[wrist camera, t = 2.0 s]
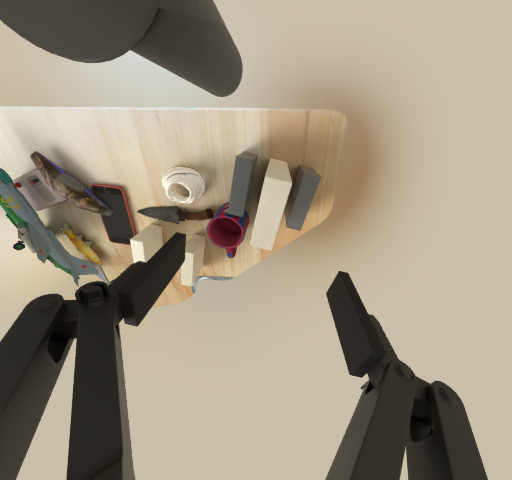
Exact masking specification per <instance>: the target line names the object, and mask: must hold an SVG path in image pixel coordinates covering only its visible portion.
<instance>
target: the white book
mask: <svg viewBox="0 0 512 480" xmlns="http://www.w3.org/2000/svg"><path fill="white" fill-rule="evenodd" d="M291 186H292V180H291V176H290V172H289V169H288V165H287V162H284V161H280V160H276V159H272V158H270V161H269V164H268V168H267V171H266V175H265V179H264V183H263V188H262V192H261V196H260V201H259V205H258V210H257V214H256V218H255V223H254V227H253V231H252V236H251V240H250V246H254V247H258V248H262V249H267V250H272V248H273V244H274V241H275V238H276V235H277V231H278V228H279V225H280V222H281V218H282V215H283V212H284V209H285V205H286V202H287V199H288V196H289V192H290V189H291Z"/></svg>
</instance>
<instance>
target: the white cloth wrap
mask: <svg viewBox="0 0 512 480" xmlns="http://www.w3.org/2000/svg"><path fill="white" fill-rule="evenodd" d="M174 173H178V174H174ZM171 174H173V175H171ZM170 175H171V176H170ZM161 180H162V185H163V187H164V188H165V190H166V194H167V197H168V198H169V199H170V200H172V201H174V202H178V203H187V204H189V203H192V202H193V200H195V199H198V198H199V197H200V196H202V194H203V193H204V191H205V182H204V180H203V178H202V177H201V175H200V174H199V173H198V172H196V171H195V170H193V169H191V168H186V167H174V168H170V169H168V170H166V171H165V172H164V174H163V175H162V179H161ZM173 183H179V184H181V185H183V186H184V187H186V188H187V189H188V190H189V192H190V196H188V197H185V196H182V195H180V194H179V193H177V192H175V191H174V190H173V189H172V187H171V185H172V184H173Z"/></svg>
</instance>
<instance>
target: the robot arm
mask: <svg viewBox="0 0 512 480" xmlns="http://www.w3.org/2000/svg"><path fill="white" fill-rule="evenodd" d="M185 247H186V234H182V233H178V232H176V233H175V234H174V235H173V236H172V237H171V238H170V239H169V240H168V241H167V242H166V243H165V244H164V245H163V246H162V247H161V248H160V249H159V250H158V251H157V252H156V253H155V254H154V255H153V256H152V257H151V258H150V259H149V260H148V261H147V262H142V261H138V262H136V263H134V264H132V265H130V266H129V267H128V268H127V269H126V270H125V271H124V272H123V273H122V274H121V275H119V276H118V277H117V278H116V279H115V280H114V281H113V282H112V283H111V284H110V285H108V284H107V283H105V282H101V281H96V282H90V283H87V284H85V285H83V286H81V287H80V288H79V289H78V290H77V291H76V293H75V297H76V299H77V300H64V299H63V297H62V296H61V295H59V294H48V295H43V296H40V297H38V298H36V299H34V300H32V301H31V302H30V303H29V304H28V305H27V306H26V307H25V308H24V310H23V311H22V312H21V314H20V315H19V316H18V318H17V319H16V321H15V322H14V323H13V325H12V326H11V328H10V329H9V330H8V332H7V333H6V335H5V336H4V337H3V339H2V340H1V342H0V480H16V478H17V475H18V473H19V470H20V468H21V466H22V463H23V461H24V458H25V456H26V453H27V451H28V449H29V446H30V444H31V441H32V439H33V437H34V434H35V432H36V429H37V427H38V425H39V422H40V420H41V417H42V415H43V413H44V410H45V407H46V405H47V403H48V400H49V398H50V396H51V393H52V391H53V388H54V386H55V384H56V381H57V379H58V376H59V374H60V371H61V369H62V367H63V364H64V362H65V359H66V357H67V355H68V352H69V350H70V347H71V345H72V342H73V340H74V338H77V343H76V357H75V371H74V384H73V385H74V386H73V399H72V412H71V426H70V439H69V453H68V467H67V480H135V475H134V470H133V460H132V450H131V440H130V430H129V420H128V410H127V400H126V390H125V380H124V369H123V359H122V349H121V339H120V328H119V323H120V321H121V320H122V319H123V318H124V322H125V324H129V325H133V326H138V325H139V324H140V322H141V321H142V320H143V318H144V317H145V316H146V314H147V313H148V311H149V310H150V309H151V307H152V306H153V304H154V303H155V302H156V300H157V299H158V298H159V296H160V295H161V293H162V292H163V291H164V289H165V288H166V286H167V285H168V284H169V282H170V281H171V279H172V278H173V277H174V275H175V274H176V272H177V271H178V270H179V268H180V267H181V266H182V264H183V263H184V261H185ZM326 295H327V298H328V302H329V305H330V309H331V312H332V315H333V319H334V322H335V326H336V329H337V333H338V336H339V340H340V343H341V346H342V350H343V353H344V356H345V360H346V364H347V367H348V371H349V374H350V375H352V376H357V377H361V378H362V377H363V376H364V375H365V374H366V373H367V374H368V377H369V379H370V380H368V381H367V382H366V383H365V384H364V385H363V386H362V387H361V389H364V390H363V392H362V395H361V397H360V399H359V402H358V404H357V407H356V409H355V412H354V414H353V416H352V418H351V421H350V423H349V425H348V428H347V430H346V433H345V435H344V437H343V440H342V442H341V444H340V446H339V449H338V451H337V454H336V456H335V458H334V461H333V463H332V465H331V468H330V470H329V472H328V475H327V477H326V479H325V480H399V479H400V474H401V468H402V463H403V458H404V452H405V447H406V454H407V468H408V478H409V479H408V480H488V479H487V475H486V472H485V469H484V466H483V463H482V460H481V457H480V454H479V451H478V448H477V444H476V441H475V438H474V435H473V432H472V429H471V426H470V423H469V420H468V417H467V414H466V411H465V407H464V405H463V403H462V401H461V399H460V397H459V396H458V395H457V394H456V392H454V391H453V390H452V389H451V388H450V387H449V386H447V385H446V384H445V383H443V382H441V381H434V382H433V383H431V384H430V383H428V382H426V381H424V380H422V379H420V378H418V377H416V376H415V374H414V373H413V371H412V370H411V369H410V368H409V367H408V366H407V365H406V364H405V363H403V362H402V361H400V360H399V359H398V358H397V355H396V354H395V352H394V350H393V348H392V346H391V345H390V342H389V340H388V339H387V337H386V335H385V333H384V331H383V329H382V327H381V325H380V323H379V322H378V320H377V319H376V318H375V317H374V316H373V315H370V314H368V313H367V311H366V309H365V307H364V305H363V303H362V301H361V299H360V297H359V295H358V292H357V290H356V288H355V286H354V284H353V282H352V280H351V278H350V276H349V274H348V273H346V272H342V271H339V272H338V274H337V276H336V277H335V279H334V281H333V283H332V284H331V286H330V288H329V289H328V291H327V293H326Z"/></svg>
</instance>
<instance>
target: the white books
mask: <svg viewBox="0 0 512 480" xmlns="http://www.w3.org/2000/svg"><path fill="white" fill-rule="evenodd" d="M130 242H131V248H132V254H133V260H134V263H136V262H138V261H142V262H147V261H148V260H149V259H150V258H151V257H152V256H153V255H154V254H155V253H156V252H157V251H158V250H159V249H160V248H161V247H162V246H163V237H162V226H158V225H154V224H150V225H149V226H147V227H146V228H145V229H143V230H142V231H141V232H139V233H138V234H137V235H135V236H134V237H133V238H131V239H130ZM204 249H205V236H201V235H197V234H194V236H193V237H192V238H191V239H190V241H189V242H188V243H187V244H186V247H185V261H184V263H183V264H182V266H181V284H182V285H187V286H191V287H192V286H193V284H194V282H195V281H196V279H197V277H198V275H199V273H200V271H201V270H202V268H203V261H204Z"/></svg>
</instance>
